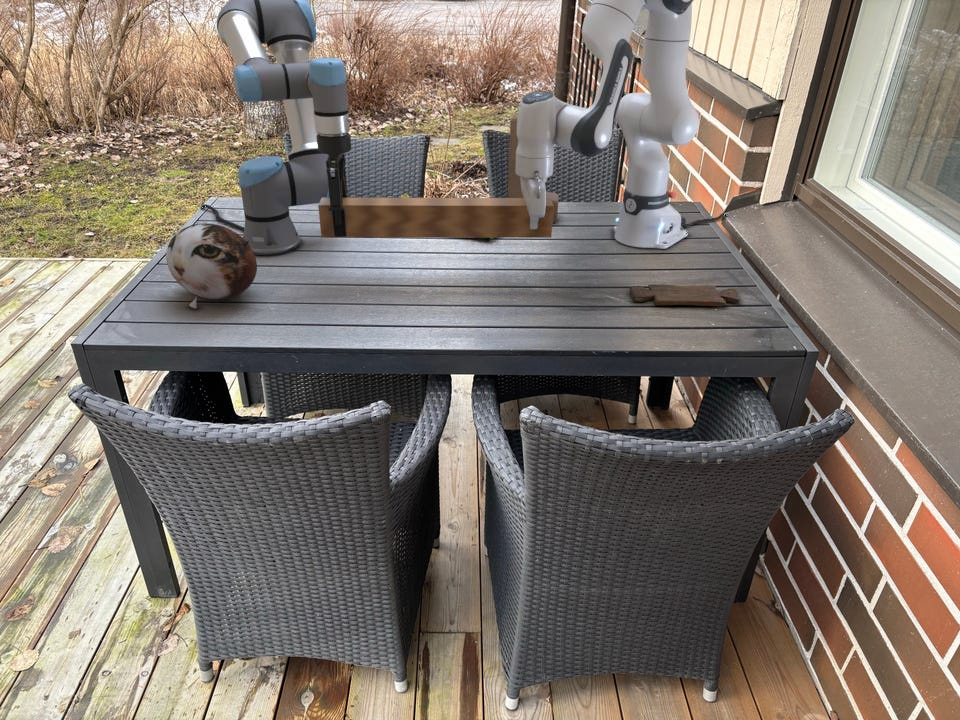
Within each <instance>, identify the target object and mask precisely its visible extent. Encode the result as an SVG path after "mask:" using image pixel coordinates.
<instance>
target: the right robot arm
mask: <svg viewBox="0 0 960 720" xmlns="http://www.w3.org/2000/svg"><path fill="white" fill-rule="evenodd" d="M693 2H694V0H592V1H591V4H590V6H589V8H588V10H587V13H586V15H585V17H584V19H583V23H582V27H581V36H582V40H583V43H584V45H585V47H586V48H587V50H588V51H589V52H590V54H592V55H593V56H594V57H595V58H597V59H598V60H599V61H601V64H602V75H601V78H600V81H599V85H598V87H597V91H596V94H595V97H594V101H593V103H592V105H591V106H589V107H583V106H579V105H574V104H571V103H567V102H565V101H562V100H561V99H559V98H557V97H556V95H555V94H554V93H553V92H551V91H548V90H535V91H531V92H529V93H526V94H525V95H523V97H521V100H520V102H519V106H518V109H517V110H518V111H517V113H518V118H517V138H518V146H517V150H516V167H515V173H516V174H517V175H518V176H520V180H521V190H522V194H523V197H524V199H525V203H526V206H527V210H528V213H529V216H530V224H529V226H530V229H537V226H538V219H539V218H542V217H544V216H545V207H546V192H547V188H546V187H547V186H546V183H547V182H548V178H550V177H552V176H553V175H554V163H555V147H560V148H562V149H566V150H569V151H573V152H575V153H577V154H579V155H582V156H584V157H587V158H593V157H596V156H598V155H599V154H602V153H603V152H604V151H605V150H606V149H607V148H608V146H609V145H610V143H611V141H612V139H613V135H614V128H615V122H616V124H617V125H618V127H619V128H620V131H621V132H622V135H623V138H624V141H625V145H626V151H627V161H628V162H627V163H628V164H627V176H626V186H625V188H624V189H623V194H622V204H621V205H620V209H619V213H618V217H616V218H615V222H616V225H614V227H613V232H614V235H613V236H614V237H613V238H614V240H616V241H617V242H619V243H620V244H623V245H626V246H630V247H634V248H644V249H646V248H647V249H648V248H650V249H651V248H652V249H661V250H666V249H668V248H670V247H671V246H673V245H674V244H676V243H678V242H680V241H681V240H683V239H684V238H687V237H688V236H689V232H688V231H687V230H686V229H685V228H689V227H692V226H694V225H696V224H699V223H707V222H713V221H718V220H720V219H721V218H723V217H728V216H726V214H725V215H724V213H726V212H722V213H720V215H718V216H715V217H711V218H712V219H709V218H702V219H703V220H700V219H696V220H694V221H692V222H691V223H689V224H686V222H687V221H686V217H685V216H682V215H681V214H680V213H679V212H678V211H677V210H676V209H675V207H673V206H672V205H671V204H670V199H671V200H673V199H675V198H676V196H677V192H676V191H675V190H671V189H669V190H668V185H669V179H670V177H669V176H670V172H671V171H670V170H671V163H670V160H669V158H668V157H667V156H666V154H665V152H664V149H663V147H662V145H665V146H674V147H675V146H678V147H679V146H681V147H682V146H685V145H687V144H689V143H690V142H691V141H692V140H693V139H694V138H695V136H696V135H697V133H698V131H699V126H700V117H699V113H698V111H697V110H696V108H695V106H694V105H693V103H692V100H691V98H690V95H689V91H688V90H689V89H688V85H687V76H686V75H687V61H688V54H689V46H690V39H691V33H692V18H693ZM641 10H647V11H648V16H647V20H646V25H645V26H646V27H645V32H644V39H643V45H642V53H641V55H642V56H641V62H640V63H641V65H640V72H641V74H642V76H643V77H644V79H645V81H646V82H647V84H648V88H649V92H650V93H648V92H631V93H626V94H625V95H623V94H624V90H625V87H626V83H627V80H628V77H629V74H630V70H631V66H632V62H633V55H634V53H633V52H634V51H633V47H632V45H631V44H630V43H631V36H632V33H633V31H634V27H635V25H636V23H637V22H638V21H637V20H638V18H639V15H640V13H641ZM622 96H623V97H622ZM667 190H668V191H667ZM669 198H670V199H669ZM684 224H685V225H684ZM680 228H681V229H680ZM684 229H685V230H684ZM686 231H687V232H688V233H687V232H686ZM686 233H687V234H686Z"/></svg>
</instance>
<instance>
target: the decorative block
mask: <svg viewBox="0 0 960 720" xmlns="http://www.w3.org/2000/svg"><path fill="white" fill-rule="evenodd" d="M517 118H518V112H516V113H513V114H512V116H511V118H510V120H509V121H510V123H509V151H508V152H509V153H508V154H509V155H508V177H507V178H508V179H507V198H524V197H523V194H522V190H521V180H520V176H518V175H517V174H516V173H515V167H516V150H517V146H518V138H517ZM546 198H551V200H552V203H553V205H554V209H553V222H552V224H553V223H556V222H557V220H558V215H559V213H558V212H559V200H560V199H559V198H560V195H559V193H555V192H551V191H546Z"/></svg>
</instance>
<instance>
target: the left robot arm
mask: <svg viewBox="0 0 960 720" xmlns="http://www.w3.org/2000/svg"><path fill="white" fill-rule="evenodd" d="M216 30H217V34H218V36H219V39H220V40H221V42H222V43H223V44H224V45H225V46H226V47H227V48H228V49H229V52H230V54H231V56H232V59H233V61H234V63H235V67H234V68H233V71H232V76H233V84H234V88H235V89H234V90H235V92H236V93H235V94H236V96H237V99H238V101H240V102H243V103H259V102H271V101H273V102H274V101H283V106H284V111H285V115H286V120H287V121H286V122H287V127H288V131H289V132H288V133H289V138H290V141H291V142H290V143H291V147H292V148H291V150H290V151H289V153H288V154H287V157H288V161H284V160H283V158H282V157H281V156H279V155H263V156H260V157H255V158H251V159H248V160H247V161H245V162H243V163H242V164H241V165H240V166H239V168H238V170H237V174H238V186H239V188H240V194H241V195H240V196H241V201H242V207H243V212H244V213H243V215H244V219H245V220H244V226H241V225H239V224H237V223H235V222H232V221H229V220H227V219H224V218H222V217H221V216H220V214H219V211H218V210H217V209H216V208H214V207H213V206H212V205H209V204H202V205H201V206H200V210H204V209H205V208H207V209H208V210H211V211H212V212H214V214H215V217H216V219H217V220H219V221H220V222H222V223H223V224H226V225H229V226H231V227H233V228H236V229H238V230H241V231H243V235H242V237H243V238H244V239H245V240H246V241H249V242H248V244H249V245H250V247H251V248H252V250H253V252H254V254H255V256H256V255H257V256H275V255H281V254H282V255H283V254H285V253H289V252H291V251H293V250H296V249H297V248H298V247H299V246H300V244H301V241H300V235H299V233H298V231H297V229H296V227H295V225H294V223H293V220H292V218H291V216H290V207H299V206H305V205H307V206H308V205H314V204H315V205H316V204H319V202H320V200H321V198H330V208H329V211H332V214H333V225H334V235H335V237H346V224H345V213H344V209H343V198H351V195H348V194H349V191H348V182H347V171H346V161H347V160H346V154H347V153H349V152H350V151H351V150H352V137H351V134H350V133H349V132H350V131H351V128H350V123H352V121H353V119H352V118H351V117H349V103H348V102H349V101H348V100H349V99H348V88H347V72H346V66H345V62H344V61H343V60H342V59H341V58H336V57H317V58H312V59H310V58H309V53H310V52H311V50H312V49H313V43H314V42H315V41H316V40H317V28H316V21H315V16H314V13H313V10H312V7H311V5H310V3H309V1H308V0H229V1H228V2H227V3H225V4H224V5H223V6H222V7H221V9H220V11H219V13H218V15H217V19H216ZM263 45H266V48H267V52H268V53H269V54H270V55H271V56H273V57H274V58H275V63H272V62H271V60H270V58H269V56H268V54H267V52H266V50H265V48H264V46H263ZM205 206H206V207H205ZM202 207H203V208H202Z"/></svg>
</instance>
